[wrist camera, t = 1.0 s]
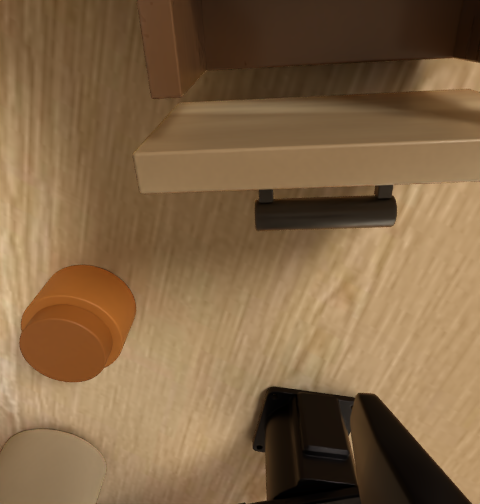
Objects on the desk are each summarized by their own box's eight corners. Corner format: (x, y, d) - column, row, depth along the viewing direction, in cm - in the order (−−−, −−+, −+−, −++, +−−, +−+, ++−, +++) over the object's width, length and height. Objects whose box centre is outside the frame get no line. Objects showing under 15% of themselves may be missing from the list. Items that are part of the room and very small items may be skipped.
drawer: (444, 205, 20) (547, 302, 13) (191, 213, 20) (160, 311, 13) (564, -341, 11) (1028, -879, 5) (130, -300, 12) (-32, -723, 5)
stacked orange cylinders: (134, 342, 26) (115, 395, 22) (49, 330, 25) (15, 382, 22) (137, 271, 23) (116, 319, 19) (41, 257, 23) (1, 302, 19)
